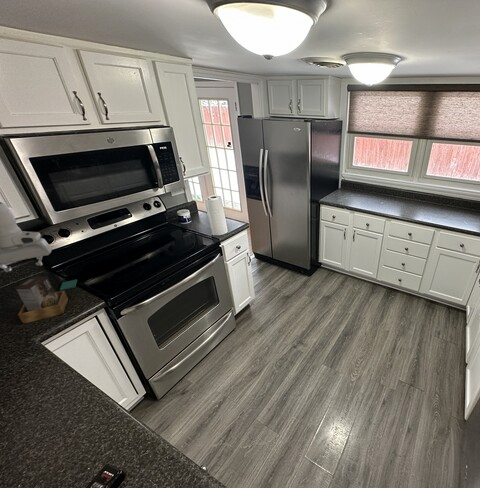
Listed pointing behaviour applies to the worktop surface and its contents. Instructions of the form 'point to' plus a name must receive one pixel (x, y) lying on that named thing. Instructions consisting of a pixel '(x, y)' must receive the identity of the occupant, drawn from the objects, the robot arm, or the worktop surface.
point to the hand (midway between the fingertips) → (24, 268)
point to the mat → (68, 284)
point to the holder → (44, 310)
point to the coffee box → (37, 293)
